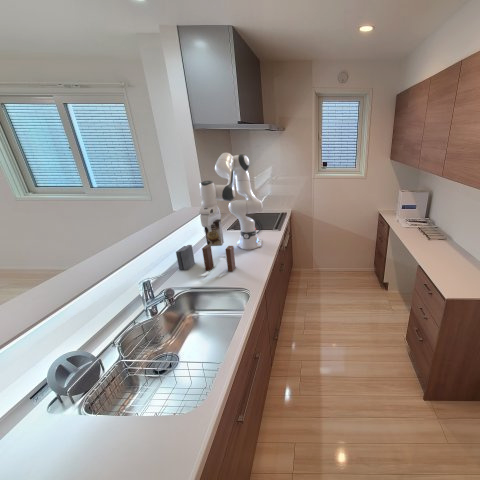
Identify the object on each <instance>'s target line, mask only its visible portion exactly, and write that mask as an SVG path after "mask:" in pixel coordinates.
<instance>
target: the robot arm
mask: <svg viewBox="0 0 480 480" xmlns="http://www.w3.org/2000/svg"><path fill="white" fill-rule="evenodd" d="M249 168H250V159H249V157H248V156H247V155H246V154H242V153H240V154H236V155H232V153H229V152H223V153H221V154H220V156H219V157H218V158H217V160H216V162H215V166H214V171H215V173H216V174H217V175H218V176H219V177H220V178H222V179H225V180H227V184H215V183H214V181H213V180H203V181H201V182H200V183H199V194H200V198H201V207H200V208H199V210H198V214H199V217H200V218H199V219H200V223H201V226H202V227H203V228H205V227H207V228H208V231H209V232H212V228H211V225H212V224H213V222H214V221H215V220H217V219H221V218H222V214H221V211H220V207H219V205H218V201H226V202H229V203H228V211H229V212H230V214H232V215H234V216H235V217H236V219H238V222H239V226H240V236H239V239H238V241H237V242H236V244H237V247H238V248H240V249H241V250H246V251H247V250H250V251H251V250H254V249H258V248H261V247H262V240H263V239H260V237H259V233H260V231H261V229H262V226H261V224H260V222H259V220H258V219H256V222H257V224H258V226H259V230H258V231H257V227H256V222H255V220H254V219H253V218H252V217H250V216H247V215H248V214H249V215H250V214H257V213H261V212H262V211H263V209H264V204H263V202H262V200H261V199H259V198H258V197H256V195H255V194H254V192H253V190H252V184H251V177H250V174H249V171H248V170H249ZM236 192H237V194H238V195H239V196H242V197H244V198H245V199H236V200H234V199H235V198H236Z"/></svg>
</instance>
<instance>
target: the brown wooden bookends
mask: <svg viewBox="0 0 480 480" xmlns="http://www.w3.org/2000/svg"><path fill="white" fill-rule="evenodd" d="M234 249H235V248H234V245H228V246H227V247H225V258H226V267H227V271H228V272H233V271H234V270H235V269H236V259H235V250H234ZM201 250H202V256H203V257H202V258H203V263H204V270H205V271H206V272H207V271H209V272H210V271H211V270H212V269H213V268H214V267H215V264H214V259H213V252H212V246H207V244H205V245H204V246H203V247H202V248H201Z"/></svg>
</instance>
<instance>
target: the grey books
mask: <svg viewBox="0 0 480 480" xmlns="http://www.w3.org/2000/svg"><path fill="white" fill-rule="evenodd" d="M175 255H176V261H177V265H178V269H179V270H180V271H183V270H184V271H189V269H191V268H192V266H194V265H195V263H196V260H195V256H194V250H193V245H192V244H187V245H183V246H182V247H180V248H179V249H177V250H175Z"/></svg>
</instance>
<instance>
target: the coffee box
mask: <svg viewBox="0 0 480 480" xmlns="http://www.w3.org/2000/svg"><path fill="white" fill-rule="evenodd" d="M222 225H223V224H222V219H221V218H220V219H217V220H215V221H214V222H213V224H212V225H211V228H212V232H209V231H208V228H207V227H204V233H205V234H204V235H205V239H206V245H207V246H211V247H222V246H223V245H224V243H225V241H224V234H223V233H224V232H223V226H222Z"/></svg>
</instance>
